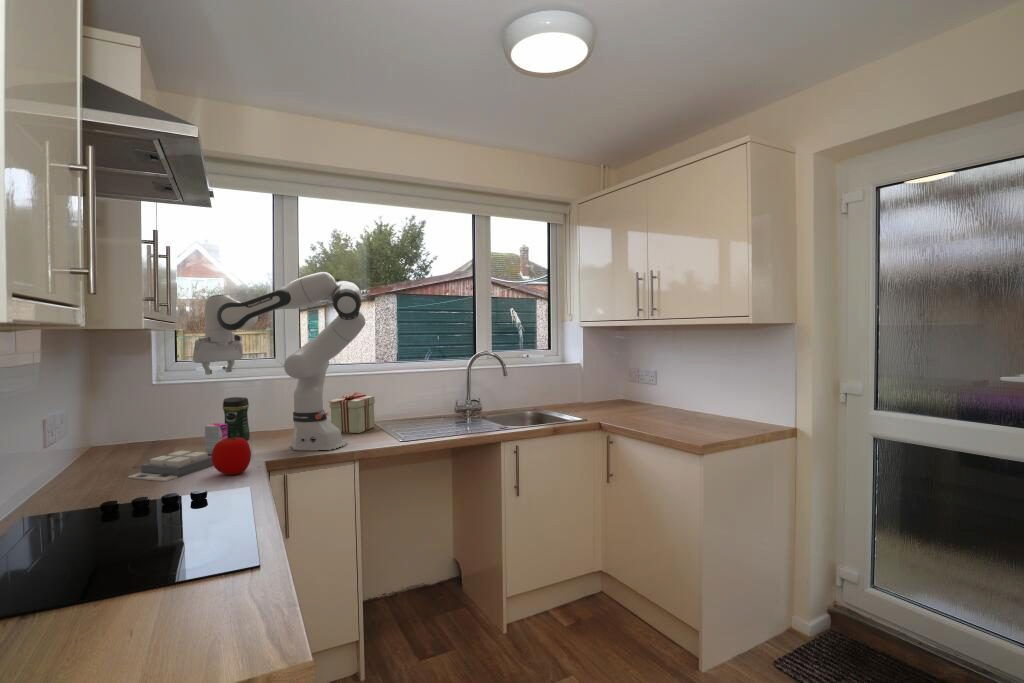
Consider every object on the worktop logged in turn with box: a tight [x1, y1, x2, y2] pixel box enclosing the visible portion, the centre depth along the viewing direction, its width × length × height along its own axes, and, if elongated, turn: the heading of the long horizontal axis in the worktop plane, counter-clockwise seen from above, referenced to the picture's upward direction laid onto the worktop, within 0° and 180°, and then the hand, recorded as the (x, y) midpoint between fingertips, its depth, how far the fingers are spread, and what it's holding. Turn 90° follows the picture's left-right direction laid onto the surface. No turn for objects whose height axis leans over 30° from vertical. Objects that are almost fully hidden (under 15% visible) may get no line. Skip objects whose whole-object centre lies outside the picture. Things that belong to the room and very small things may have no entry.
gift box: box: [327, 391, 376, 434], centre depth 244 cm, size 17×18×17 cm
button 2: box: [166, 457, 191, 467], centre depth 177 cm, size 5×5×2 cm
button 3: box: [167, 450, 193, 458], centre depth 185 cm, size 5×5×2 cm
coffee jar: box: [222, 396, 251, 441], centre depth 224 cm, size 10×8×19 cm
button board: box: [127, 456, 214, 482], centre depth 179 cm, size 16×20×3 cm
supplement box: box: [204, 422, 228, 456], centre depth 201 cm, size 6×6×12 cm
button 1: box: [149, 455, 175, 465], centre depth 179 cm, size 5×5×2 cm
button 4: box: [184, 451, 208, 461], centre depth 184 cm, size 5×5×2 cm
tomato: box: [212, 436, 252, 476], centre depth 175 cm, size 12×12×13 cm
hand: (218, 373), depth 200 cm, fingers open, 8 cm apart
